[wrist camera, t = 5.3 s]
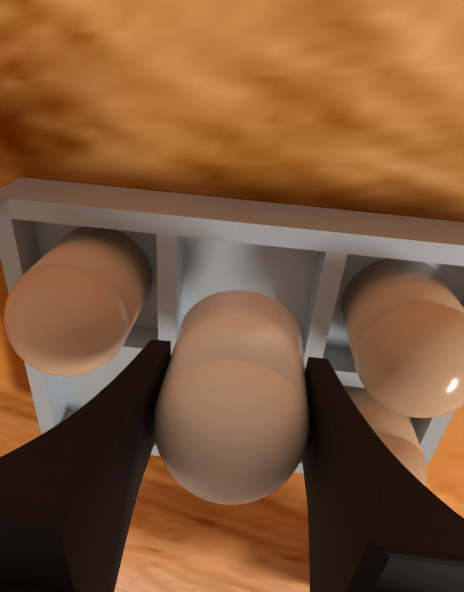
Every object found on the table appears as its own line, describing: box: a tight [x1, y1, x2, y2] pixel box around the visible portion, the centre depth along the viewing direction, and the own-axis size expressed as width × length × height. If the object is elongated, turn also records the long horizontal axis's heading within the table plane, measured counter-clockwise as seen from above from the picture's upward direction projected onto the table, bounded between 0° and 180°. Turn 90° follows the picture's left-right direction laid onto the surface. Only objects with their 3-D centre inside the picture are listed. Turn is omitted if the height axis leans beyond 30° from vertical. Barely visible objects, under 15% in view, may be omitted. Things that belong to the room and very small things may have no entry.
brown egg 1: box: [4, 226, 152, 377], centre depth 16 cm, size 4×4×6 cm
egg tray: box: [0, 177, 464, 474], centre depth 20 cm, size 14×20×3 cm
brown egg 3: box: [343, 385, 427, 486], centre depth 19 cm, size 4×4×6 cm
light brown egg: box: [154, 290, 309, 505], centre depth 13 cm, size 4×4×6 cm
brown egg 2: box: [341, 258, 464, 418], centre depth 16 cm, size 4×4×6 cm
